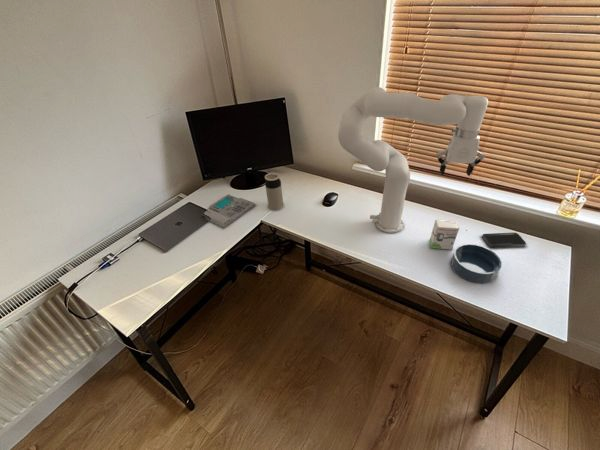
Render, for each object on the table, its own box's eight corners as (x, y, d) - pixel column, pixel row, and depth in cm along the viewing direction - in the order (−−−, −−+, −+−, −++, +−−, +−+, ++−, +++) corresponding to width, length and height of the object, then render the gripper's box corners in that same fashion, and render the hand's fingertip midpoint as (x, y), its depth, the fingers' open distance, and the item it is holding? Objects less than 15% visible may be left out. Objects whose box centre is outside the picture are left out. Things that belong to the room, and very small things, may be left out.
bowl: (454, 281, 115) (458, 271, 111) (447, 252, 127) (450, 242, 124) (502, 286, 112) (507, 276, 108) (489, 255, 124) (494, 245, 121)
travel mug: (283, 210, 158) (279, 179, 146) (267, 210, 158) (263, 180, 147) (283, 201, 164) (280, 171, 153) (269, 202, 164) (264, 172, 153)
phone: (481, 233, 133) (516, 232, 132) (481, 235, 133) (515, 234, 133) (490, 246, 127) (527, 244, 126) (489, 248, 127) (526, 246, 127)
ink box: (430, 248, 129) (436, 226, 122) (429, 240, 133) (435, 219, 126) (452, 249, 128) (459, 228, 120) (450, 242, 132) (457, 220, 124)
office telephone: (223, 224, 147) (196, 212, 156) (224, 229, 148) (197, 216, 158) (255, 201, 161) (228, 190, 170) (255, 205, 163) (229, 194, 172)
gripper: (443, 135, 110) (433, 177, 121) (495, 136, 107) (480, 179, 117) (440, 128, 116) (430, 168, 126) (489, 128, 112) (475, 170, 123)
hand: (454, 173), depth 122 cm, fingers open, 9 cm apart
